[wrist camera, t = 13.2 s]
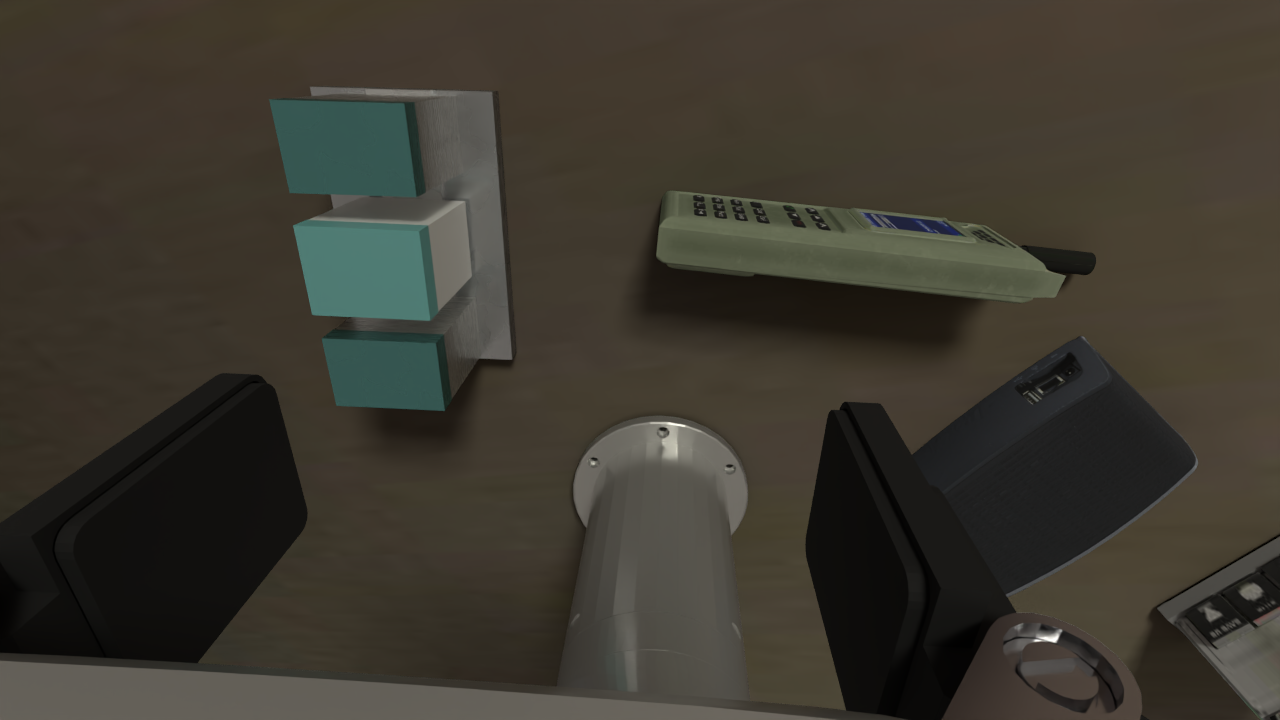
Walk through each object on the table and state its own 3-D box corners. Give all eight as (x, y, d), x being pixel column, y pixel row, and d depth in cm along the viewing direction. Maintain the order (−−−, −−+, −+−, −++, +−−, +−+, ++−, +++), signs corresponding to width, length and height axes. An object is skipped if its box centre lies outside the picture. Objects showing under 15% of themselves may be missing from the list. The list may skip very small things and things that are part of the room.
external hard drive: (1184, 441, 42) (1233, 477, 38) (950, 594, 49) (972, 637, 46) (1069, 324, 39) (1110, 351, 35) (837, 505, 46) (851, 544, 42)
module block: (472, 276, 37) (430, 320, 31) (374, 271, 38) (312, 314, 31) (465, 200, 35) (419, 231, 29) (361, 196, 36) (293, 225, 29)
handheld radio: (664, 180, 36) (1090, 228, 36) (658, 235, 38) (1066, 281, 38) (661, 209, 30) (1170, 266, 30) (653, 273, 32) (1138, 327, 32)
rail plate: (516, 352, 41) (481, 416, 34) (369, 345, 42) (302, 407, 34) (497, 90, 34) (448, 99, 27) (321, 86, 35) (224, 92, 27)
